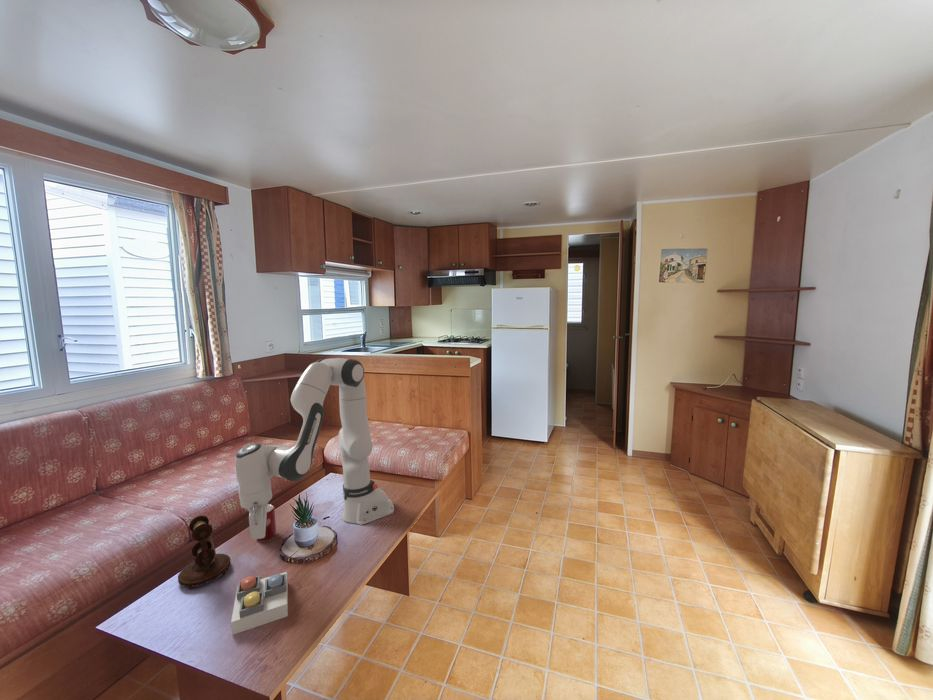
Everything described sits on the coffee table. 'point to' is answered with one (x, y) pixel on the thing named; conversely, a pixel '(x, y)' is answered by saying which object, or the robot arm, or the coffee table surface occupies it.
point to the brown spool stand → (203, 557)
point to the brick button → (248, 583)
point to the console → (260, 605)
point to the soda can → (269, 525)
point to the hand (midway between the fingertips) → (262, 535)
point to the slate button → (275, 581)
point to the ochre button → (251, 599)
